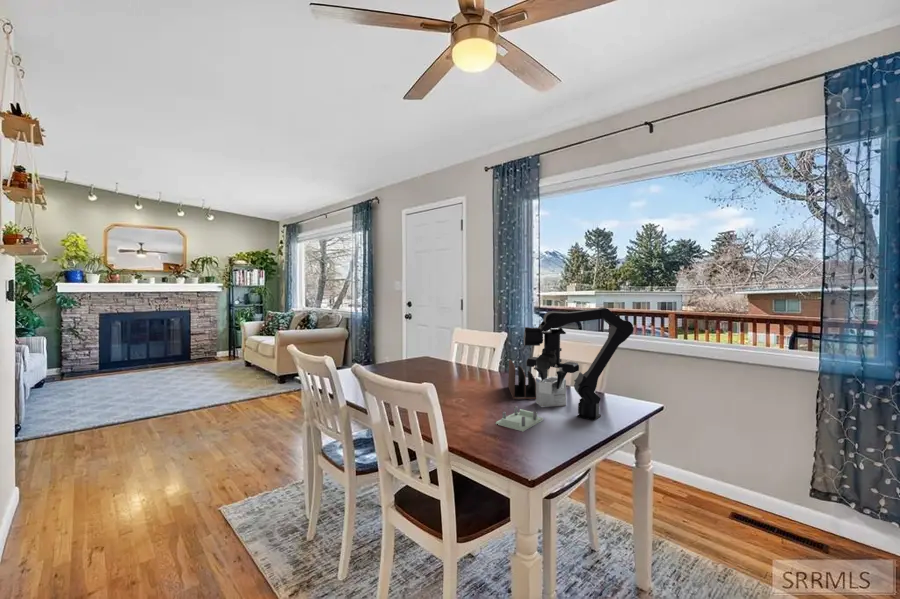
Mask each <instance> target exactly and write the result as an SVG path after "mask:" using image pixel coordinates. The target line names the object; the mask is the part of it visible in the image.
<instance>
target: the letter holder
mask: <svg viewBox="0 0 900 599" xmlns="http://www.w3.org/2000/svg"><path fill="white" fill-rule="evenodd" d="M517 369H518V370H517V371H518V374H517V376H518V380H517V381H518V384H516V366H515V364H514V362H513V360H511V359H509V361H508V379H507V381H508V382H507V387H508V389H509V392H510V394H511V397H512V400H513V399H536V377H535V376H534V374H532V372H531V371H529V370H528V371H527V376H526V374H525V370H524V369H523V367H522V366H521V365H518V367H517ZM526 378H527V380H526ZM526 381H527V382H528V384H526Z"/></svg>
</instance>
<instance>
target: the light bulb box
mask: <svg viewBox="0 0 900 599" xmlns="http://www.w3.org/2000/svg"><path fill="white" fill-rule="evenodd" d="M549 377H550V376H547V378H549ZM553 377H558V375H557V376H556V375H553ZM535 381H536V400H535V403H536V404H539V405H538V406H539V407H541V408H546V407H547V408H548V407H562V406H567V379H566V378H564V389H563V390H561V391H558V392H556V393H554V394H552V395H550V394H545V393H540V392H539V381H542V379H541V376H539V377H538V376H537V377H535Z"/></svg>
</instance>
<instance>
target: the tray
mask: <svg viewBox="0 0 900 599" xmlns="http://www.w3.org/2000/svg"><path fill="white" fill-rule="evenodd" d="M518 409H519V408H518V406H517V405H515V406H514V409H513V410H514V411H513V413H511V414H509V415H507V412H506V411H502V418H500V419H499V420H497V421H496V422H495V425H497V424H498V426H502V427H505V428H508V429H512V430H516V431H520V432H525V431H526V430H528V429H530V428H531V427H533V426H535V425H537V424H539V423H540V422H542V421H544V418H543V417H540V416H538V413H537V410H532V411H530V410H525V409H523V408H522V409H521V408H520V409H519V412H518Z"/></svg>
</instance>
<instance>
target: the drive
mask: <svg viewBox="0 0 900 599" xmlns="http://www.w3.org/2000/svg"><path fill="white" fill-rule="evenodd" d="M553 376H554V375H553ZM553 376H548V377H549V378H546V379H544V380H542V381H539V392H540V393H545V394H550V395H552V394H554V393H556V392H558V391H561V390H563V389H564V380H563V382H562V384H561V386H560V388H559V389H557V378H558V377H553Z"/></svg>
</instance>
